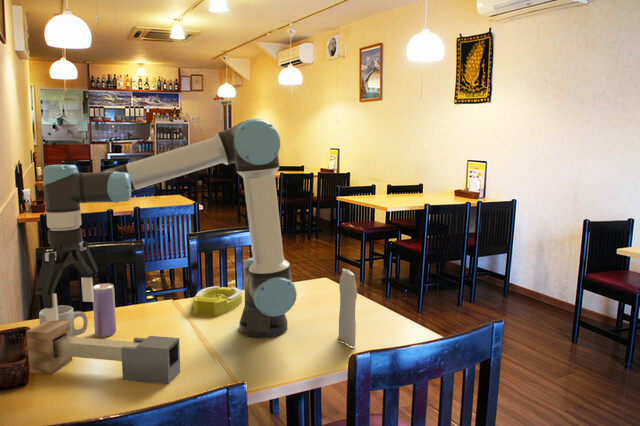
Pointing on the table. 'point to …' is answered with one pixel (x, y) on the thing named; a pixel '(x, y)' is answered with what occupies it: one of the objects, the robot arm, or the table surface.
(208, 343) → the table surface
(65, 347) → the beige square bar
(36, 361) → the socket block
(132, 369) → the sleeve
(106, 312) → the beverage can
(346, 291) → the tall pale column
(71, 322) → the mug
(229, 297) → the ashtray
